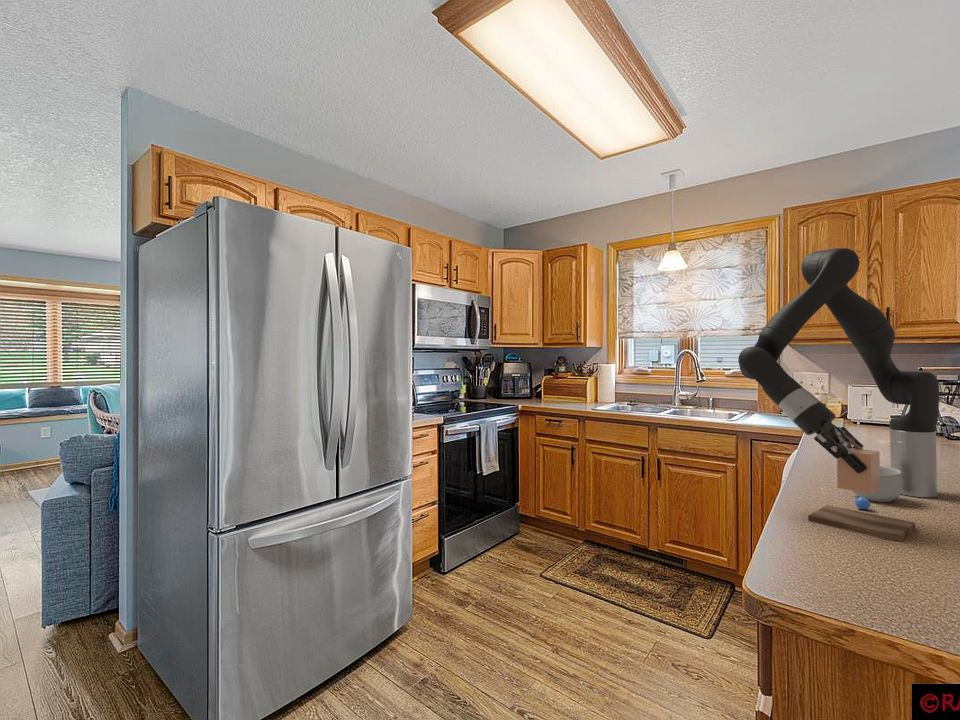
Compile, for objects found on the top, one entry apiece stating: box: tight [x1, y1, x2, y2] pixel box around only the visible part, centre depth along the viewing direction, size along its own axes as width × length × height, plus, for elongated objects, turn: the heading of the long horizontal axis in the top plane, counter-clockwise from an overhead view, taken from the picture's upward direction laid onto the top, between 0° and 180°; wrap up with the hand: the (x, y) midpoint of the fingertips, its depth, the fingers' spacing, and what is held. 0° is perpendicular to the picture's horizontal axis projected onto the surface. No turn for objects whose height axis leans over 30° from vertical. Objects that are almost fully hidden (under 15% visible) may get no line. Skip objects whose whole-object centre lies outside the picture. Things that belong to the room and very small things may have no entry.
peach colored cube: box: [836, 448, 881, 494], centre depth 104 cm, size 6×6×8 cm
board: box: [807, 504, 916, 542], centre depth 104 cm, size 12×16×1 cm
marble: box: [854, 496, 872, 510], centre depth 114 cm, size 3×3×3 cm
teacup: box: [852, 465, 902, 503], centre depth 124 cm, size 14×11×8 cm
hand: (868, 468), depth 102 cm, fingers closed on peach colored cube, 6 cm apart
